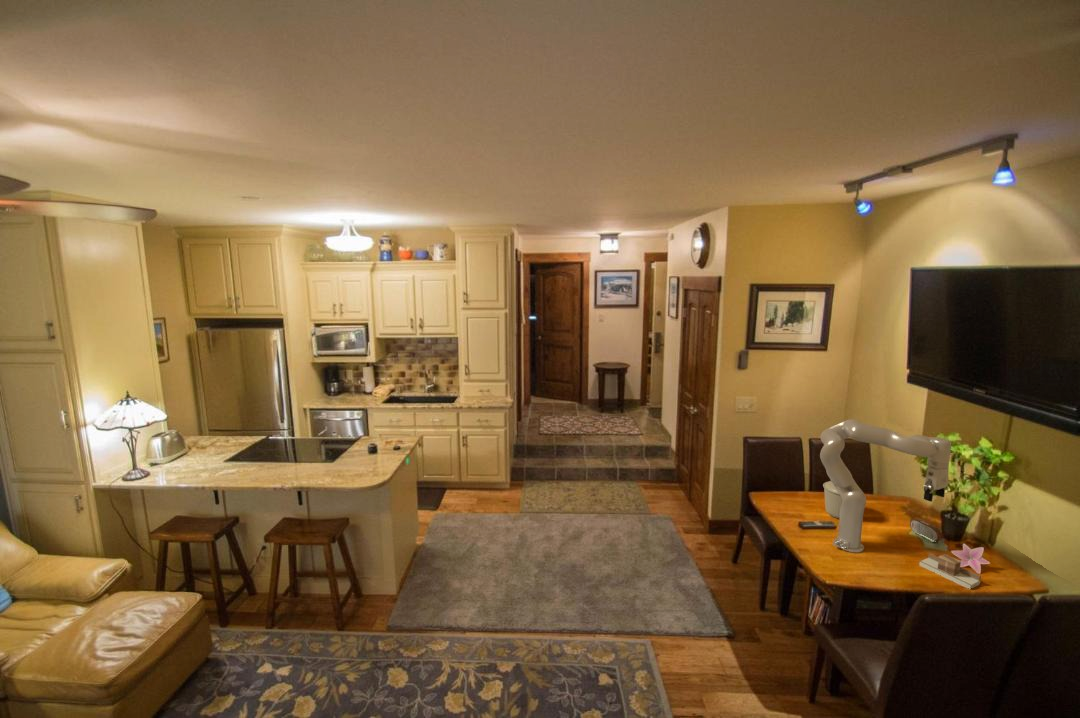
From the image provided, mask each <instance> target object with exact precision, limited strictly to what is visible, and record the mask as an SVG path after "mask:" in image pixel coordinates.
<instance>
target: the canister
mask: <svg viewBox="0 0 1080 718" xmlns="http://www.w3.org/2000/svg"><path fill="white" fill-rule="evenodd" d="M822 486H823V488H824V491H823V492H824V506H825V511H826V513H827V514H828V515H829V516H831V517H833V518H835V519H839V520H840V509H841V505H842V497H841V496H840V494H839V493H838V491H837V489H836V488H835V486H834V484H833V483H832V481H831V480H829V481H825V482H824V483H823V484H822Z"/></svg>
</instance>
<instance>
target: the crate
mask: <svg viewBox="0 0 1080 718" xmlns="http://www.w3.org/2000/svg"><path fill="white" fill-rule="evenodd" d="M938 557H939V562H938V569H940V570H942V571H944V572H946V573H948V574H950V575H952V576H955V575H957V574H959V572H960V564H961V559H960V560H959V558H958V559H957V558H955V557H953V556H950V555H948V554H946V553H943V554H941V555H938Z"/></svg>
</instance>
